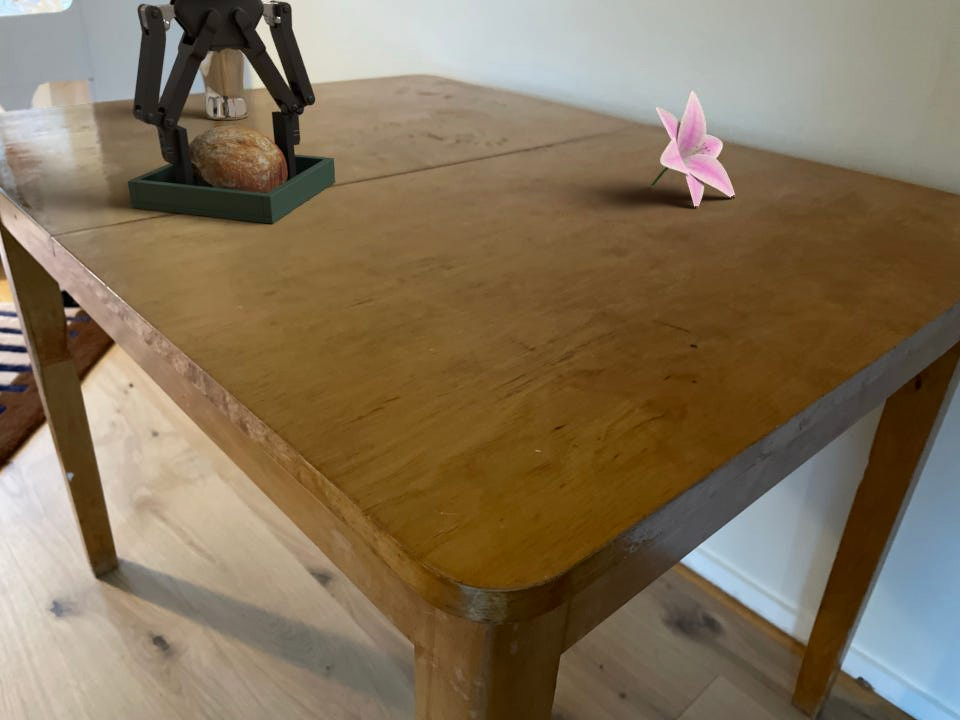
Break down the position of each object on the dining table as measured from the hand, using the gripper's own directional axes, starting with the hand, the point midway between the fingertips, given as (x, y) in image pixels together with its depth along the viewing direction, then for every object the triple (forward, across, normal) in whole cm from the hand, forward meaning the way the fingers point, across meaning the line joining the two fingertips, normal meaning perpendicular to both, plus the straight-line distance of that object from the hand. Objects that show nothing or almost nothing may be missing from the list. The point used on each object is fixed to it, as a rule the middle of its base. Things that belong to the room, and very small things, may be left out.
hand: (238, 185), depth 79 cm
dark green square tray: (+1, 0, 0) cm, 1 cm away
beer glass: (+1, +16, +35) cm, 39 cm away
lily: (+1, +38, -28) cm, 47 cm away
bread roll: (0, 0, 0) cm, 0 cm away
